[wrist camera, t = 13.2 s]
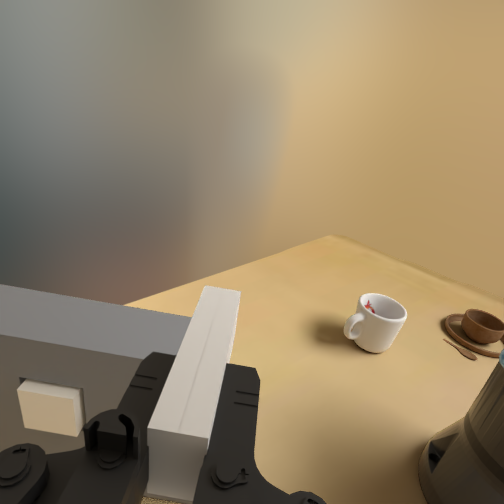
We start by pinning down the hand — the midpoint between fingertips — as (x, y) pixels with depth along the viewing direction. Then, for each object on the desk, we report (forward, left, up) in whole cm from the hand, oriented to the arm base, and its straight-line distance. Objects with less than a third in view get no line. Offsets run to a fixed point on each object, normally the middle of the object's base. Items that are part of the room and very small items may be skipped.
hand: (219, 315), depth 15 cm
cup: (-36, -25, -29) cm, 53 cm away
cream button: (+8, -15, -20) cm, 26 cm away
